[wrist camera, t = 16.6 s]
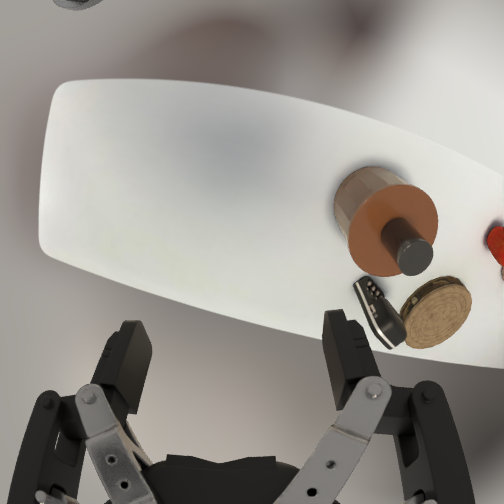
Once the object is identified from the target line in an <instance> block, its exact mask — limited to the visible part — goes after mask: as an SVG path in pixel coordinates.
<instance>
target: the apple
mask: <svg viewBox="0 0 504 504" xmlns="http://www.w3.org/2000/svg"><path fill="white" fill-rule="evenodd" d="M487 244H488V247H489V250H490V251H491V253H492V255H493V256H494V258H495V259H496V260H497V262H498V263H499V264H500V265H501V266H503V267H504V227H500V226H497V227H494V228H493V229H492V230H491V232H490V233H489V235H488V237H487Z"/></svg>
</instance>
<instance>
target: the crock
mask: <svg viewBox="0 0 504 504" xmlns="http://www.w3.org/2000/svg"><path fill="white" fill-rule="evenodd" d="M394 183H406V184H408V183H407V182H405V181H404V180H403V179H401V178H400V177H398V176H397V175H396V174H394V173H392V172H390V171H388V170H386V169H384V168H381V167H365V168H362V169H359V170H357V171H355V172H353V173H352V174H350V175H349V176H348V177H347V178H346V179H345V180H344V181H343V182H342V184H341V185H340V187H339V188H338V190H337V193H336V195H335V200H334V214H335V218H336V220H337V222H338V225H339V227H340V229H341V231H342V233H343V234H344V236H345V238H346V240H347V233H348V227H349V224H350V221H351V218H352V216H353V214H354V212H355V210H356V209H357V207H358V206H359V205H360V203H361V202H362V201H363V200H364V199H365V198H366V197H367V196H368V195H369V194H371V193H372V192H374V191H375V190H377V189H379V188H381V187H383V186H386V185H389V184H394Z"/></svg>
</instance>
